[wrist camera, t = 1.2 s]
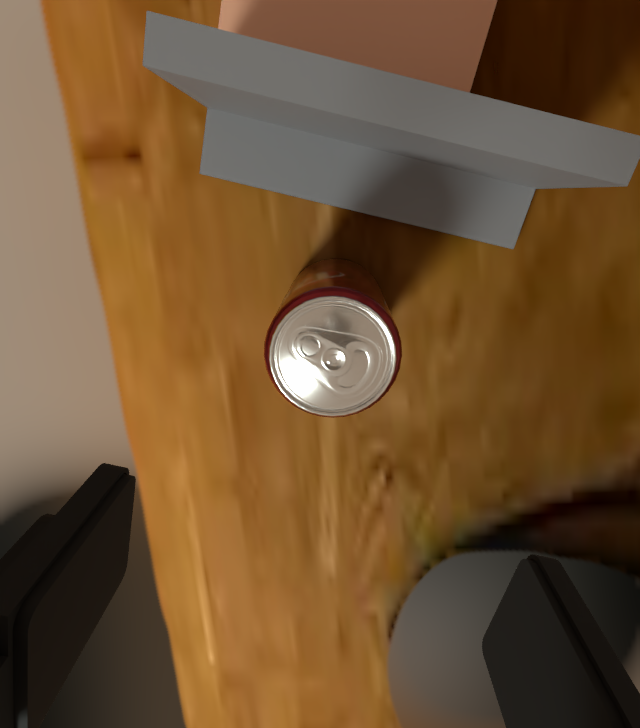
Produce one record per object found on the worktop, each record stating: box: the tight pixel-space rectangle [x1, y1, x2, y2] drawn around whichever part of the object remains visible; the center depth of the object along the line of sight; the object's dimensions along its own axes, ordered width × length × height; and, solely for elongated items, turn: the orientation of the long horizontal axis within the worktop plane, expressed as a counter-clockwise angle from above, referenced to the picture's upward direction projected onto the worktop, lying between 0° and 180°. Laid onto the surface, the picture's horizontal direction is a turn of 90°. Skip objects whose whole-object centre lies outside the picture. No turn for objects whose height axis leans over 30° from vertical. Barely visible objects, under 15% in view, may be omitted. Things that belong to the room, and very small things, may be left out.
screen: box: [143, 11, 640, 249], centre depth 26 cm, size 6×22×12 cm, turn 77°
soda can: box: [264, 259, 402, 418], centre depth 29 cm, size 7×7×12 cm
